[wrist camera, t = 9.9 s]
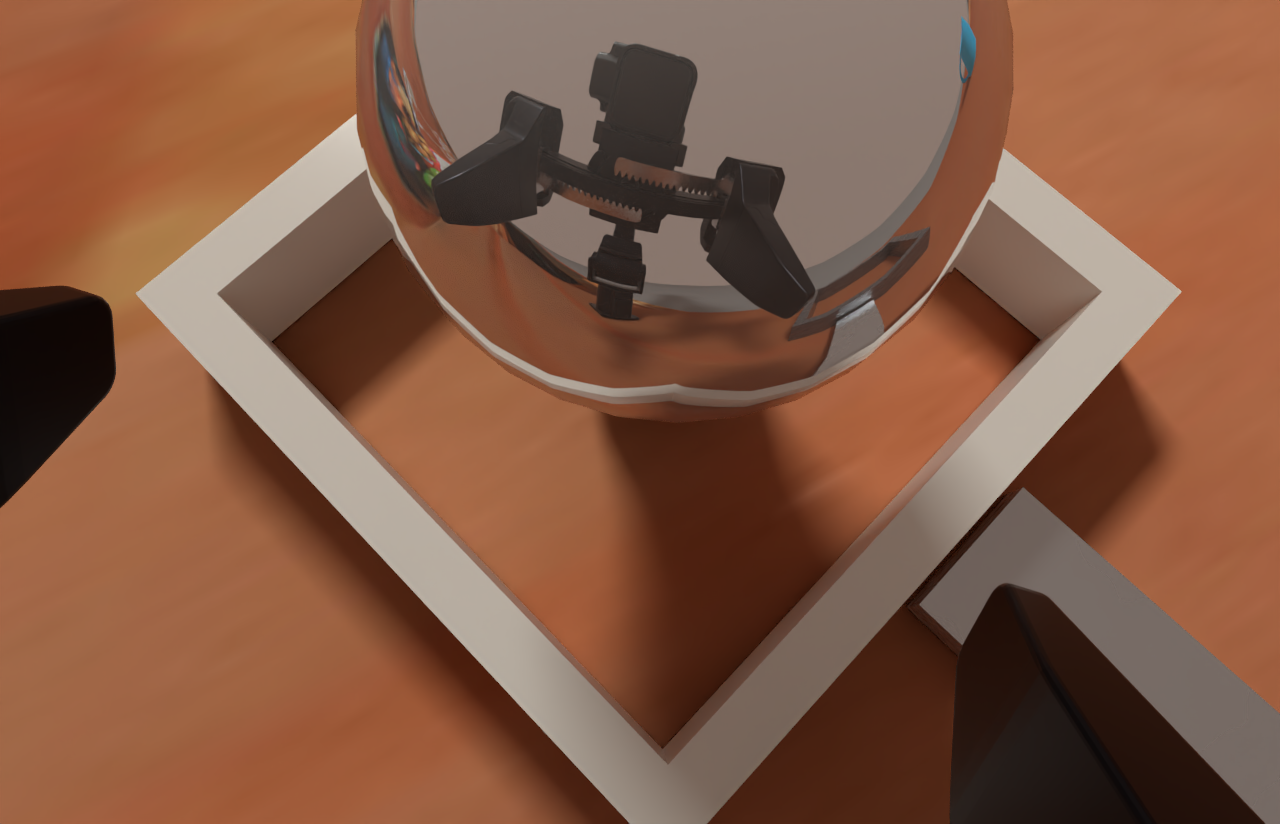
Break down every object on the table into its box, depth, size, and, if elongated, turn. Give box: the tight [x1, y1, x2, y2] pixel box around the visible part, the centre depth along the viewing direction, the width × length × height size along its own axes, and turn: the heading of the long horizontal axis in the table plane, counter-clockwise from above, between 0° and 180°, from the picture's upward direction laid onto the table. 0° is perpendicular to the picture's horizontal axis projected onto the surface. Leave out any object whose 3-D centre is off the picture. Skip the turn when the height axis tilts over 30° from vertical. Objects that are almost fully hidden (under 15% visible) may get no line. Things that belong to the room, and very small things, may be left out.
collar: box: [136, 114, 1182, 824], centre depth 17 cm, size 13×13×2 cm
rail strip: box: [906, 487, 1280, 824], centre depth 16 cm, size 3×9×1 cm, turn 45°
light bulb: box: [356, 0, 1013, 423], centre depth 13 cm, size 7×7×12 cm
